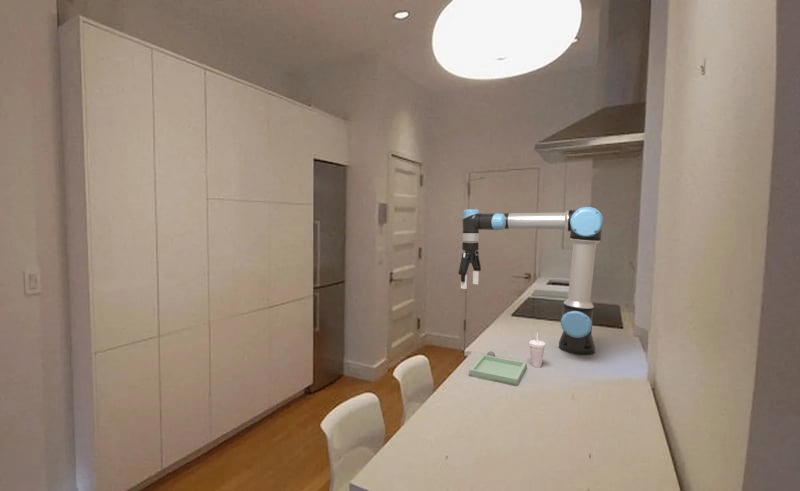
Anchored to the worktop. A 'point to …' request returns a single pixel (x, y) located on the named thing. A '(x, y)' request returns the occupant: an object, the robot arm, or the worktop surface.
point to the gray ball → (491, 353)
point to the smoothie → (536, 352)
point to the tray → (498, 369)
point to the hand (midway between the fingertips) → (469, 286)
